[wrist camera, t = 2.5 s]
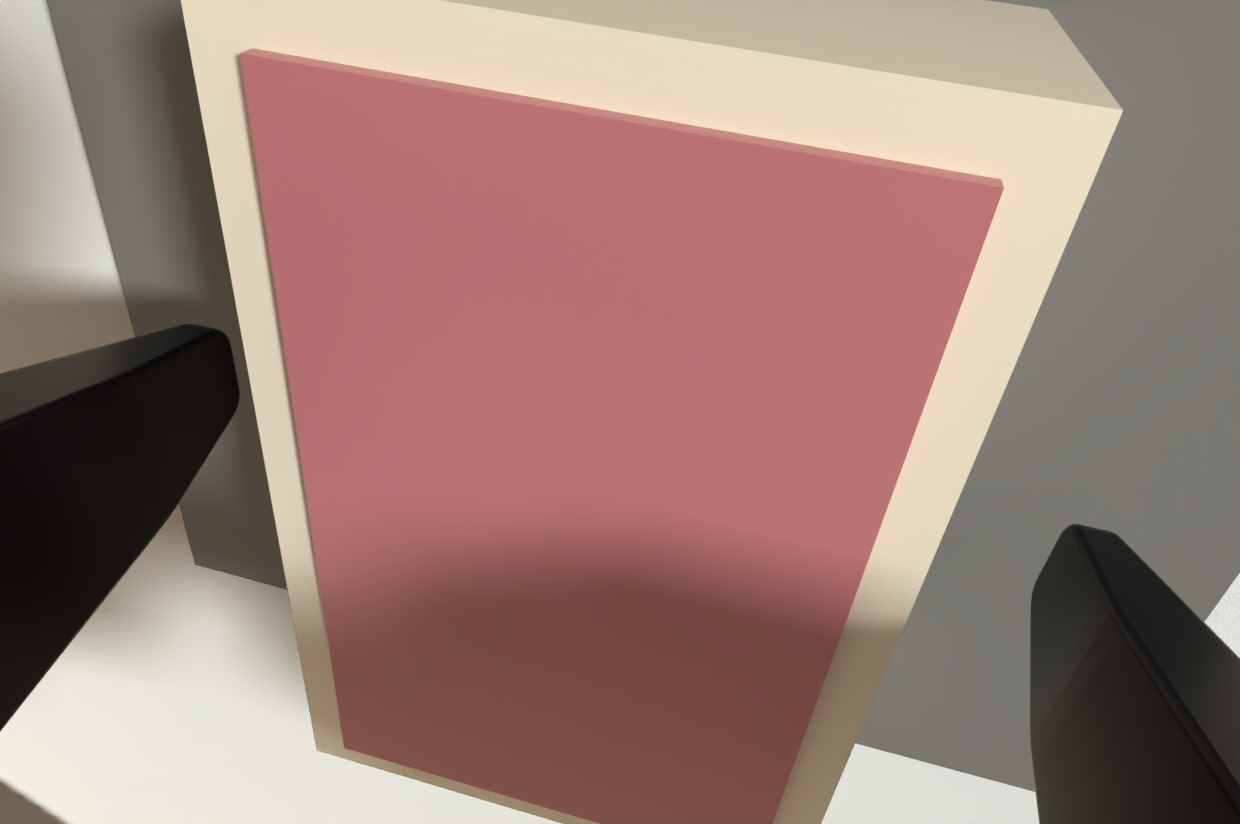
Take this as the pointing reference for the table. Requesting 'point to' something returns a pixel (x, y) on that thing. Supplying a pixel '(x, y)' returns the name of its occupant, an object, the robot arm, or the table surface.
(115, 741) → the table surface
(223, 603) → the table surface
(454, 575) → the card deck
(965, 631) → the mat
